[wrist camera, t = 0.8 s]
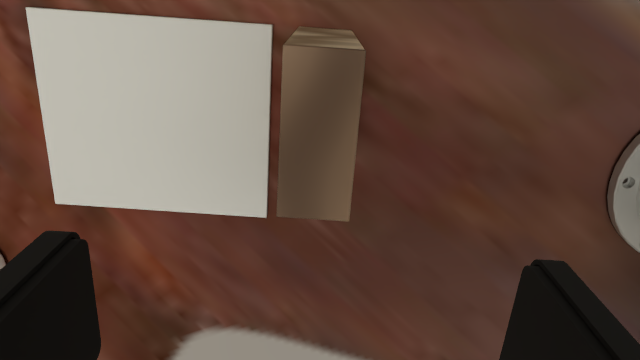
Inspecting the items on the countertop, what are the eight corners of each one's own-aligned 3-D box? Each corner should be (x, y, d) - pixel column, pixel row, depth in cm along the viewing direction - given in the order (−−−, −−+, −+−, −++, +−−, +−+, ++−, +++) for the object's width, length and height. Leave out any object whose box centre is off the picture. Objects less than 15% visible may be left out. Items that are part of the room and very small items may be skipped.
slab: (351, 29, 32) (366, 51, 20) (341, 144, 35) (349, 221, 23) (298, 26, 32) (282, 45, 20) (293, 141, 34) (276, 216, 23)
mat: (272, 24, 31) (271, 25, 31) (267, 214, 37) (266, 217, 36) (30, 7, 31) (25, 7, 31) (59, 200, 36) (55, 203, 36)
